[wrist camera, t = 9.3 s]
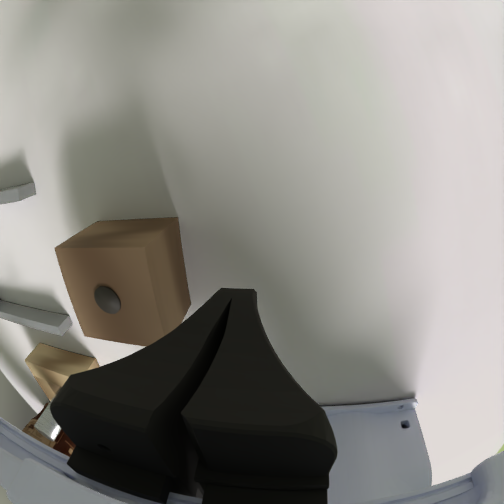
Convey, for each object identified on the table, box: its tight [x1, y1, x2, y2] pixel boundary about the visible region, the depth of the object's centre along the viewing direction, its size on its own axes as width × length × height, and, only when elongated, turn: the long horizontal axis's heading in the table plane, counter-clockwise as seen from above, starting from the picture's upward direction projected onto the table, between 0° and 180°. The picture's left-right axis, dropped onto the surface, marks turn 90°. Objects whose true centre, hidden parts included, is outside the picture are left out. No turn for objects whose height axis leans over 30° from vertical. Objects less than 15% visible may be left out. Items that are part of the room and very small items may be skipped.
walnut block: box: [55, 217, 191, 346], centre depth 14 cm, size 5×5×4 cm
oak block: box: [25, 343, 99, 401], centre depth 20 cm, size 7×7×3 cm
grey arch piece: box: [0, 182, 72, 336], centre depth 16 cm, size 11×11×2 cm
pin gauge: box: [34, 387, 62, 441], centre depth 18 cm, size 2×2×7 cm
